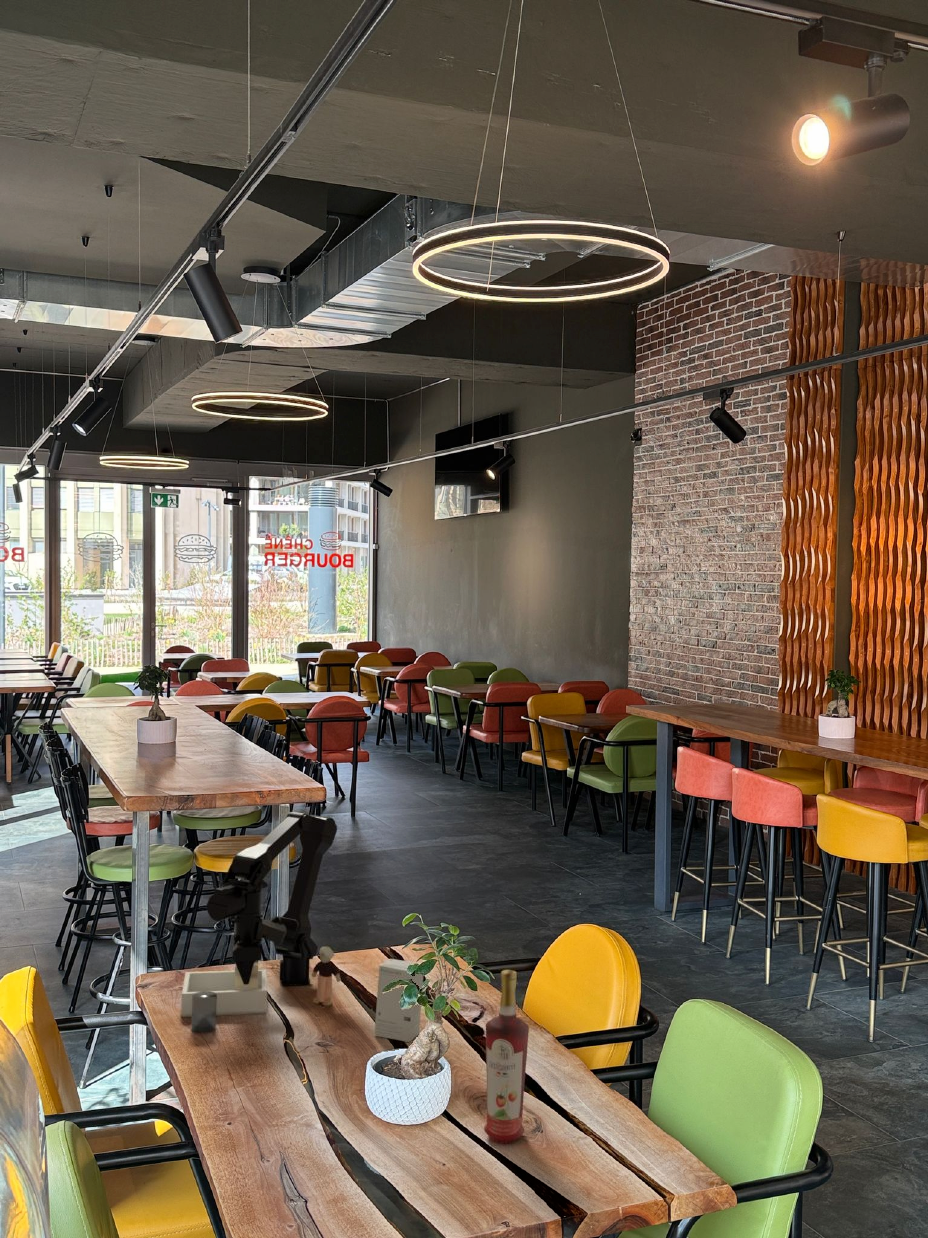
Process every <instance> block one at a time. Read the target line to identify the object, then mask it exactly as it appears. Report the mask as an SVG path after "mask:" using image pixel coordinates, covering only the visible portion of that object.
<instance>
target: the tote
mask: <svg viewBox="0 0 928 1238" xmlns="http://www.w3.org/2000/svg"><path fill="white" fill-rule="evenodd" d="M267 977H268V976H267V969H258V988H250V989H235V970H215V971H214V970H211V971H185V974H184V979H183V984H182V985H183V986H182V990H181V1009H180V1010H181V1011H180V1014H181V1015H180V1017H181V1018H190V1017H191V1018H192V995H193V994H195V993H197V992H202V991H211V992H215V993H216V994H217V1005H216V1017H217V1016H237V1015H238V1016H239V1015H243V1016H244V1015H262V1014H263V1015H265V1014H267V1003H268V1001H267V999H268V984H267V983H268V980H267Z"/></svg>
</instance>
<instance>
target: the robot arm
mask: <svg viewBox="0 0 928 1238" xmlns="http://www.w3.org/2000/svg"><path fill="white" fill-rule="evenodd" d="M337 831H338V826H337V824H336V821H335V820H334V818H332V817H328V816H320V815H313V814H308V813H305V812H299V811H298V812H297V811H290V812H289V813H287V815H286V817H285V818H284V820H283V821H282V822H281V823H279V824H278V825H277V826H276V827H275V828H274V829H273V830H272V831H271V832H269V834H267V836H265V837H264V838H263V839H262V840H261V841H260V842H258V843H257V844H256V845H253V846H250V847H246V848H244V849H243V850H241V851H239V852H238V853H237V854H236V855H234V857H233V858H232V860H231V861H232V862H231V864H230V866H229V868H228V870H227V871H226V874H225V876H224V878H223V880H222V882H221V886H222V887H217V888H215V889H214V890H213V891H214V894H212V895H211V896H210V897H209V898H208V901H207V902H206V911H207V914H208V916H209V917H210V918H211V920H213V921H216V922H220V921H224V920H227V919H231V918H232V917H234V928H233V947H232V960H231V961H233V962H234V964H236V966H237V968H238V971H239V973H240V976H241V978H242V981H243V984H244V985H247V984H249V981H250V977H251V973H252V969H253V965H254V962H256V961H258V962H259V961H261V960H262V953H263V947H262V945H261V943H262V941H263V939H264V940H267V941H270V942H272V943H273V945H274V951H275V954H276V955H281V956H282V958H281V959H280V960H279V974H278V975H279V978H278V979H279V981H281V986H304V985H306V986H308V985H311V983H310V982H311V981H310V964H311V963H310V960H313V959H314V957H317V952H318V949H319V947H318V945H317V944H316V943H315V942H314V941H313V939H312V938H311V933H312V926H311V922H310V917H309V913H310V909H311V908H310V907H311V904H312V901H313V896H314V892H315V889H316V884H317V881H318V875H319V871H320V868H321V863H322V860H323V857H324V855H325V854H326V852H327V851H328V850H329V849H330V848H331V847H332V845H333V844H334V842H335V841H334V840H335V837H336V834H337ZM298 836H299V842H300V846H301V848H302V849H301V850H302V852H301V856H300V858H299V859H300V860H299V864H298V868H297V872H296V875H295V880H294V884H293V888H292V891H291V896H290V899H289V903H288V907H287V910H286V911H285V913H284V914H282V916H280V915H279V916H277V915H273V916H272V917H271V918H270V919H265V918H263V913H262V890H263V889H266V888H268V887H269V884H268V883H267V882H266V881H265V880H264V879H265V877H266V876H267V875H268V874H269V872H270V871H271V869H272V868H273V867H272V866H273V861H274V860H275V859H276V858H277V857H278V856H279V855H280V854H281V853H282V852H283V851H284V850H285V849H286V848H287V847H288V846H289V845H290V844H292V842H293V841H294V840H295V839H297V838H298Z"/></svg>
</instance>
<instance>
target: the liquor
mask: <svg viewBox="0 0 928 1238" xmlns="http://www.w3.org/2000/svg"><path fill="white" fill-rule="evenodd" d="M500 985H501V995H500V1002H499V1003H500V1004H499V1010H498V1016H494V1017H493V1018H491V1019H490V1020H489V1021H487V1022H486V1023H485V1062H486V1063H485V1064H486V1065H485V1066H486V1067H485V1068H486V1123H485V1125H484V1126H483V1130H484V1132H485V1133H486V1134H487V1136H488V1137H489V1138H490V1139H491V1140H492V1139H493V1140H494V1141H493V1140H492V1141H493V1142H495V1141H497V1142H496V1143H498V1142H503V1143H502V1144H510V1143H509V1142H511V1143H513V1141H514V1142H516V1140H518V1139H519V1138H520V1137H522V1136H523V1134H524V1133H525V1128H524V1126H523V1110H524V1096H525V1095H524V1094H525V1079H526V1069H527V1068H526V1067H527V1057H528V1045H529V1044H528V1043H529V1031H530V1028H529V1027H530V1026H529V1025H528V1023H527V1022H525V1021H524V1020H523V1019H522V1018H520V1017H518V1016H517V1008H516V1007H517V1004H516V988H517V987H516V986H517V971H515V970H512V969H503V970H502V971H500ZM506 1142H507V1143H506Z"/></svg>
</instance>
